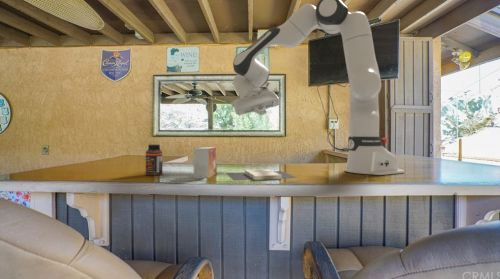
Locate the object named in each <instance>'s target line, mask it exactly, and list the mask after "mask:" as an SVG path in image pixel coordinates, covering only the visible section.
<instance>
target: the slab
mask: <svg viewBox="0 0 500 279" xmlns="http://www.w3.org/2000/svg"><path fill="white" fill-rule="evenodd" d="M244 172H245V174H246V175H247V176H249V177H251V178H252V179H254V180H253V181H275V180H276V181H277V180H280V181H281V180H283V178H282V175H280V174H278V173H276V172H273V170H270V169H246V170H245V171H244Z"/></svg>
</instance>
